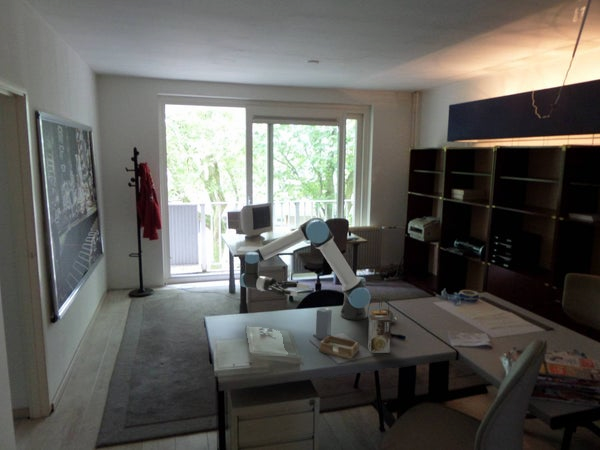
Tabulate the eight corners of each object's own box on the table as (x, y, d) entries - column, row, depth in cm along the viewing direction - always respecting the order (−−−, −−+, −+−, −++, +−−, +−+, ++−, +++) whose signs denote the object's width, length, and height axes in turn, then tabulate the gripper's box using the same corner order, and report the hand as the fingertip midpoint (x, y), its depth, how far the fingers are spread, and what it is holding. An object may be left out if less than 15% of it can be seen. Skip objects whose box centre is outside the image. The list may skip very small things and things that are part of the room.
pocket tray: (327, 343, 203) (328, 335, 203) (358, 350, 197) (358, 341, 196) (319, 351, 194) (319, 342, 194) (351, 358, 187) (351, 349, 187)
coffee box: (386, 347, 201) (388, 314, 199) (389, 353, 194) (391, 319, 192) (367, 347, 200) (369, 314, 198) (370, 353, 194) (372, 319, 192)
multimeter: (373, 344, 204) (375, 304, 202) (364, 336, 214) (366, 298, 211) (400, 342, 208) (402, 302, 206) (390, 334, 218) (392, 296, 215)
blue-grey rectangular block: (316, 333, 216) (317, 305, 214) (334, 337, 212) (335, 308, 210) (312, 336, 212) (313, 308, 210) (330, 340, 207) (331, 311, 206)
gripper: (278, 285, 234) (312, 291, 225) (254, 296, 212) (291, 304, 203) (278, 272, 233) (313, 278, 224) (254, 282, 211) (291, 288, 202)
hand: (302, 290), depth 214 cm, fingers open, 13 cm apart
